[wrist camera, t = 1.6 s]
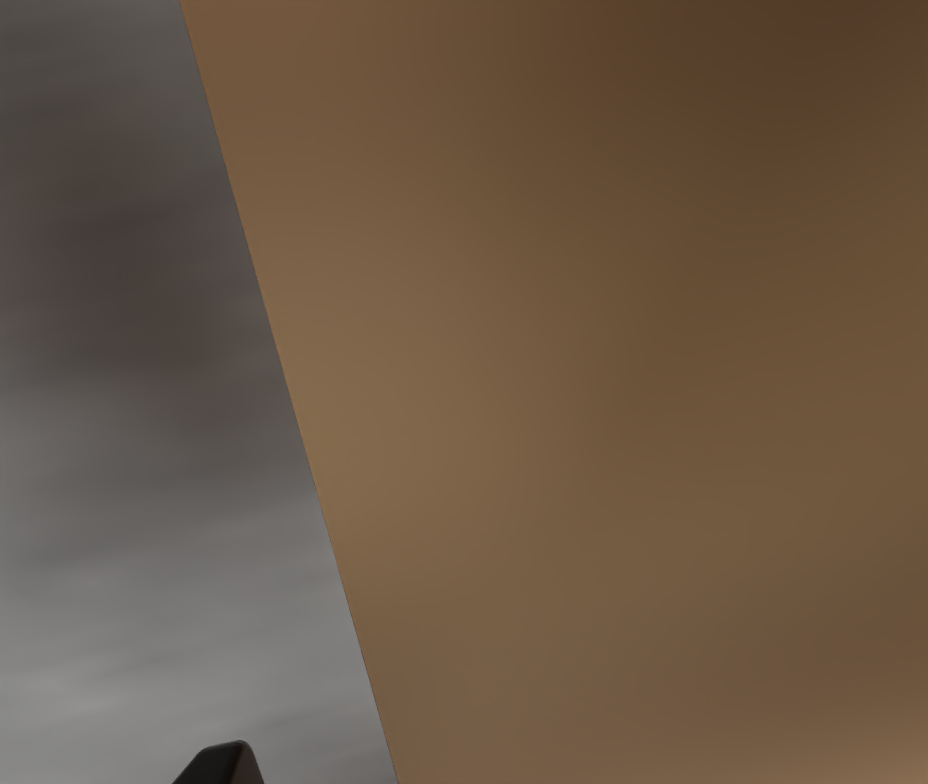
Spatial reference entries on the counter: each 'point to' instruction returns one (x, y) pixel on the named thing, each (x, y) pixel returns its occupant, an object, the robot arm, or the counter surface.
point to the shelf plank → (605, 369)
